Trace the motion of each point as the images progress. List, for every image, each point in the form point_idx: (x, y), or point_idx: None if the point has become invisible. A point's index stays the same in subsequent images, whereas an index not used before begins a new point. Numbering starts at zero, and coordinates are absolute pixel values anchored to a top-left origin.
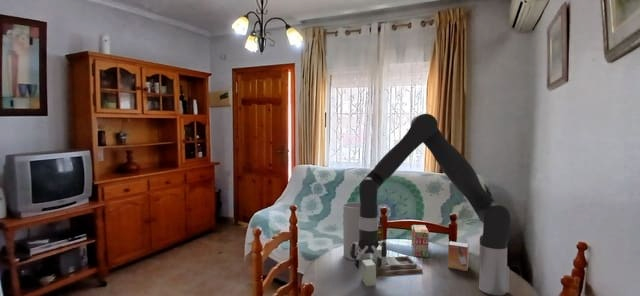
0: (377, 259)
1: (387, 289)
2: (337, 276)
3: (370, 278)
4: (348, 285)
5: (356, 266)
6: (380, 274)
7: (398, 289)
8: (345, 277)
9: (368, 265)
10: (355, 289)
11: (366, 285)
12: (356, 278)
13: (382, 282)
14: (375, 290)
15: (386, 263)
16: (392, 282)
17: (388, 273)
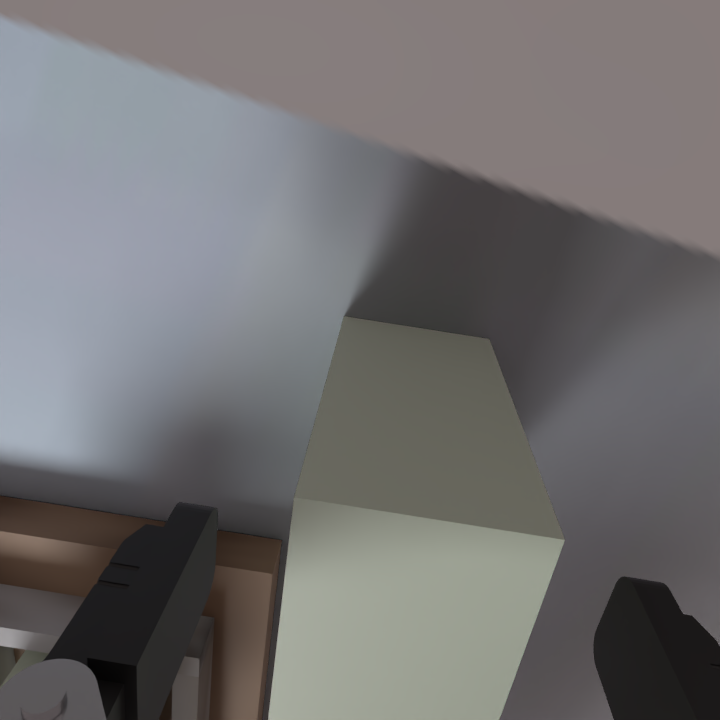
0: (157, 687)
1: (235, 133)
2: None
3: (429, 371)
4: (713, 420)
5: (694, 630)
6: None
7: (65, 77)
8: None
9: (494, 535)
10: (696, 284)
11: (484, 339)
12: None
13: (222, 357)
14: (429, 160)
15: (6, 679)
16: (85, 316)
17: (61, 520)
